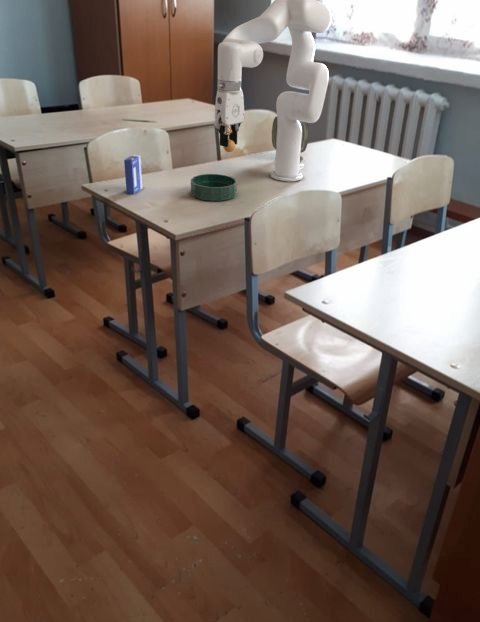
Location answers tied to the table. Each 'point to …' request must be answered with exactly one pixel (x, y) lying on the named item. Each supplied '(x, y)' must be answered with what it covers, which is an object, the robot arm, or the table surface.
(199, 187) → the bowl
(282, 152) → the robot arm
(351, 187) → the table surface
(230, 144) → the figurine
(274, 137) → the tabletop clock
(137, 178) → the walkman
